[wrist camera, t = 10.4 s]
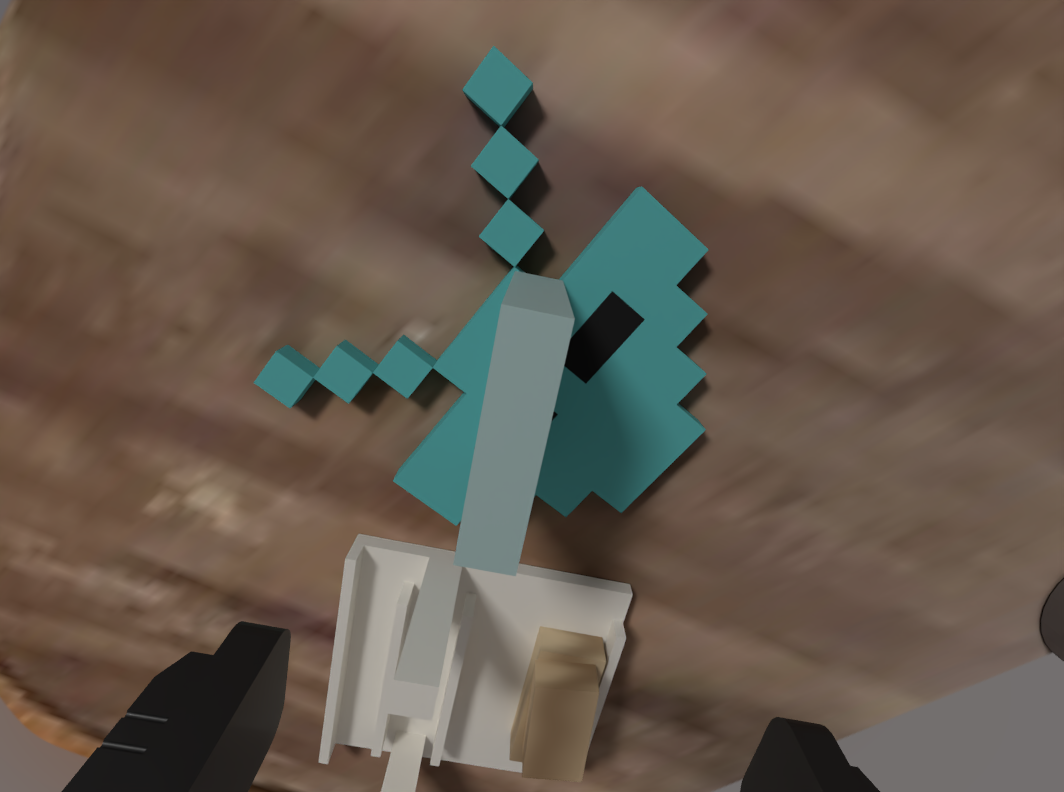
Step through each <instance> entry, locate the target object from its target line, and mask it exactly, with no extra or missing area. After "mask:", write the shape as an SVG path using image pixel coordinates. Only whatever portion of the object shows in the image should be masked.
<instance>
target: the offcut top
mask: <svg viewBox="0 0 1064 792" xmlns="http://www.w3.org/2000/svg"><path fill="white" fill-rule="evenodd" d="M598 697H599V686H598V679H597V672H596V665H594V664H583V663H571V662H560V661H549V660H537V659H535V664H534V671H533V678H532V685H531V692H530V699H529V706H528V713H527V720H526V727H525V733H524V740H523V753H522V777H524V778H536V779H549V780H561V781H574V782H582V778H583V773H584V768H585V763H586V758H587V753H588V748H589V743H590V738H591V733H592V727H593V722H594V717H595V712H596V707H597V702H598Z"/></svg>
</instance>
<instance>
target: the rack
mask: <svg viewBox="0 0 1064 792" xmlns="http://www.w3.org/2000/svg"><path fill="white" fill-rule="evenodd" d="M454 558H455V552H454V551H449V550H444V549H438V548H433V547H427V546H422V545H417V544H411V543H406V542H401V541H395V540H390V539H384V538H379V537H374V536H368V535H363V534H358V536H357V538H356V539H355V541H354V543H353V545H352V547H351V549H350V551H349V553H348V555H347V557H346V558H345V566H344V573H343V581H342V588H341V596H340V604H339V611H338V619H337V626H336V634H335V642H334V649H333V657H332V664H331V672H330V679H329V687H328V695H327V702H326V710H325V717H324V725H323V733H322V740H321V748H320V755H319V763H324V764H328V762H329V759H330V757H331V754H332V751H333V748H334V746H335V743H338V744H344V745H350V746H357V747H363V748H369V749H372V751H371V756H375V757H380V756H381V752H382V751H388V752H391V755H390V759H389V763H388V766H387V770H386V774H385V778H384V782H383V786H382V790H381V792H415V789H416V784H417V779H418V774H419V769H420V764H421V759H422V757H426V758H431V761H430V765H432V766H439V765H440V760H445V761H451V762H457V763H464V764H470V765H476V766H483V767H489V768H495V769H502V770H508V771H514V772H521V773H522V762H517V761H511V760H509V758H510V732H511V729H512V725H513V721H514V718H515V714H516V711H517V707H518V703H519V700H520V696H521V693H522V689H523V685H524V682H525V678H526V675H527V671H528V667H529V664H530V660H531V657H532V653H533V649H534V646H535V642H536V638H537V635H538V631H539V628H540V626H542V627H548V628H553V629H559V630H565V631H570V632H576V633H581V634H587V635H593V636H598V637H602V639H603V645H604V651H605V657H606V664H605V667H604V670H603V673H602V676H601V679H600V682H599V685H598V686H599V697H598V702H597V707H596V712H595V717H594V722H593V727H592V733H591V738H590V743H591V740H592V737H593V734H594V732H595V729H596V726H597V723H598V720H599V717H600V714H601V711H602V708H603V705H604V702H605V699H606V696H607V694H608V691H609V688H610V685H611V682H612V679H613V676H614V673H615V670H616V667H617V664H618V661H619V658H620V656H621V653H622V650H623V647H624V644H625V641H626V635H625V630H624V626H623V622H624V619H625V616H626V613H627V610H628V607H629V604H630V601H631V598H632V596H633V594H632V590H631V586H630V584H626V583H621V582H616V581H610V580H605V579H599V578H594V577H589V576H583V575H578V574H573V573H567V572H562V571H556V570H551V569H546V568H540V567H535V566H530V565H524V564H519V565H518V569H517V573H516V576H511V575H506V574H500V573H495V572H489V571H483V570H478V569H472V568H467V567H461V566H456V565H453V563H454ZM590 743H589V746H590ZM588 749H589V748H588Z"/></svg>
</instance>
